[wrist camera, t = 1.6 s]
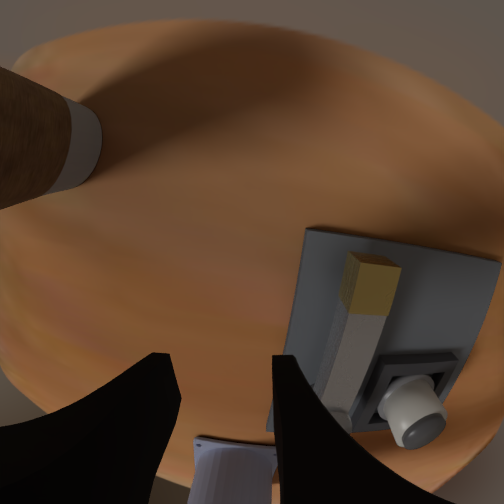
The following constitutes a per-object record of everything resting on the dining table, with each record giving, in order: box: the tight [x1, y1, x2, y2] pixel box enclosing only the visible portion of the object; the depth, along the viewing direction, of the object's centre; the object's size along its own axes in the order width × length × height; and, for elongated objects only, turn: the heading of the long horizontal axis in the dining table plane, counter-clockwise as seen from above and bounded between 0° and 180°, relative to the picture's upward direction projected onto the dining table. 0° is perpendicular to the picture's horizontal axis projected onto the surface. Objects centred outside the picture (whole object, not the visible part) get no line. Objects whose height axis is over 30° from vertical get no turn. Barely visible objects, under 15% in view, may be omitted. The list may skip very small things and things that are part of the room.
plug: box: [377, 374, 447, 450], centre depth 14 cm, size 5×5×5 cm
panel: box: [266, 228, 502, 433], centre depth 16 cm, size 16×16×2 cm
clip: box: [313, 251, 402, 434], centre depth 13 cm, size 12×3×2 cm, turn 174°
